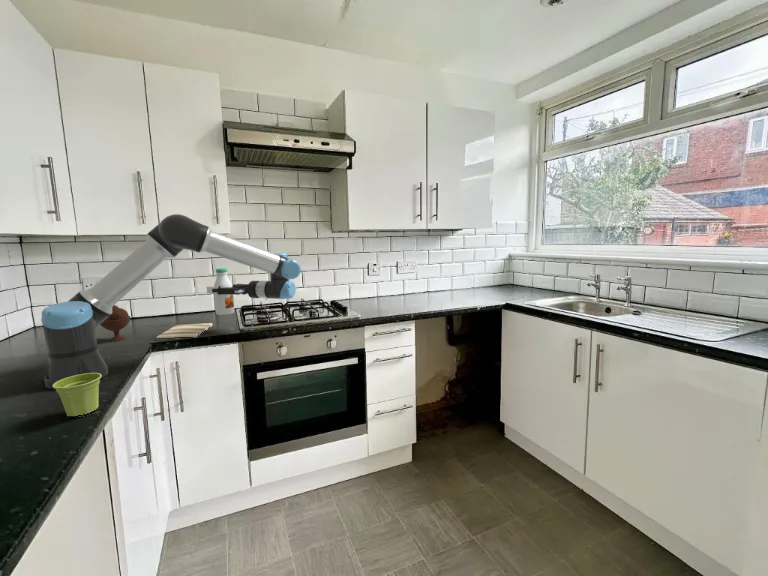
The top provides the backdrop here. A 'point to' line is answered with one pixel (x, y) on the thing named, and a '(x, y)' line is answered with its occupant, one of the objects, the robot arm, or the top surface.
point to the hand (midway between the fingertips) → (213, 288)
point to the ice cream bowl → (116, 322)
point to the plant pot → (79, 393)
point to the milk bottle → (223, 301)
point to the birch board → (185, 330)
